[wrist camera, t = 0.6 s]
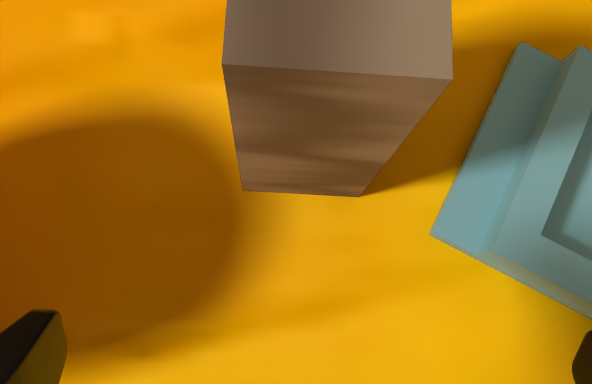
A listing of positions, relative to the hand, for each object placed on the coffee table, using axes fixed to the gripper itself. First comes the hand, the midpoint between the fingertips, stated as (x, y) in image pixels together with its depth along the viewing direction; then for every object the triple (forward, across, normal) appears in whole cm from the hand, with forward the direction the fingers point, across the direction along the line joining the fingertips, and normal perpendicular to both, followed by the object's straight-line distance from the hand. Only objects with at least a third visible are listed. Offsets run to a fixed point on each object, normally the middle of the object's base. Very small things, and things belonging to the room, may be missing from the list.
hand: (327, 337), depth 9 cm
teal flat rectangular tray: (+13, -14, +5) cm, 20 cm away
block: (+15, 0, +3) cm, 15 cm away
